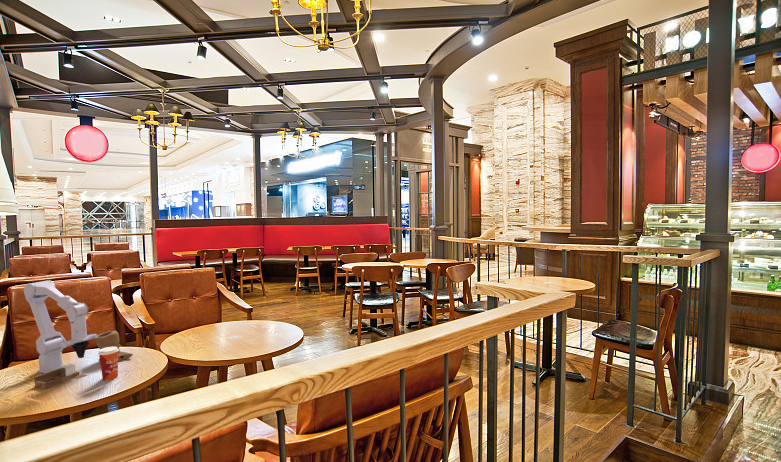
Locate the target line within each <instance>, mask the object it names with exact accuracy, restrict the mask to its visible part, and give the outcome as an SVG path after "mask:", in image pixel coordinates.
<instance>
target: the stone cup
mask: <svg viewBox="0 0 781 462" xmlns="http://www.w3.org/2000/svg"><path fill="white" fill-rule="evenodd" d="M94 341H95V343H96V346H97V347H98V349H99V351H100V350H101V349H103V348H107V347H117V348H118V349H119V351H118V362H121V361H123V360H124V361H126V360H129V359H130V358H131V357H132V356H133V355H134V354H133V353H130V352H126V351H120V341H121V340H120V335H119V332H118V331H117V330H108V331H105V332H102V333H99V334H97V338H94ZM124 361H123V362H124Z"/></svg>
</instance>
